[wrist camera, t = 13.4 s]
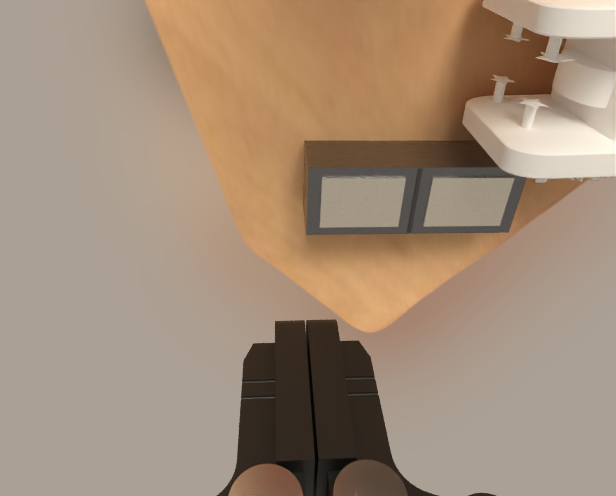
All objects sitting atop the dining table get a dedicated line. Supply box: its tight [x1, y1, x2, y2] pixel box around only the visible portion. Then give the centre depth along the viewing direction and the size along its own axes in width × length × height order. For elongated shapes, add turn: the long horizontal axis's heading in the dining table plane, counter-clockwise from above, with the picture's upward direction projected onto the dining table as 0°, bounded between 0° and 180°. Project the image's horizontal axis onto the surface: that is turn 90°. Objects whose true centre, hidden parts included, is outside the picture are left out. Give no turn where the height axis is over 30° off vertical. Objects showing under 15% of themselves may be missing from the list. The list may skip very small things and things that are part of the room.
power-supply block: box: [303, 141, 526, 235], centre depth 40 cm, size 6×17×5 cm, turn 89°
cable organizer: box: [462, 0, 616, 183], centre depth 32 cm, size 15×11×12 cm
